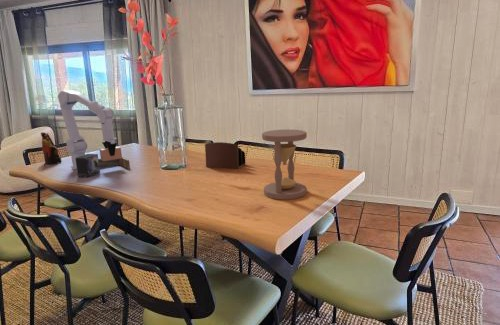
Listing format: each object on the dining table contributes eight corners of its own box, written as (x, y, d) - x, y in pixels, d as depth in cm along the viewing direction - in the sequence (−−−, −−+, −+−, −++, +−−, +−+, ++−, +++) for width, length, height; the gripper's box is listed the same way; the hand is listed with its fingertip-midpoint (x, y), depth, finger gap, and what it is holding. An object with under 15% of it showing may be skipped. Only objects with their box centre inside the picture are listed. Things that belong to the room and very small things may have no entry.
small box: (88, 177, 177) (85, 158, 175) (77, 177, 179) (74, 157, 176) (101, 172, 187) (98, 153, 185) (90, 172, 189) (87, 153, 186)
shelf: (95, 168, 197) (94, 159, 196) (120, 163, 205) (119, 155, 204) (103, 173, 184) (102, 164, 183) (130, 168, 192) (129, 160, 191)
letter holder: (238, 169, 182) (237, 143, 178) (205, 167, 189) (203, 142, 186) (245, 164, 191) (244, 139, 187) (214, 163, 198) (212, 139, 195)
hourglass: (290, 203, 129) (289, 137, 123) (255, 194, 140) (252, 134, 134) (314, 190, 142) (314, 130, 136) (280, 183, 153) (279, 128, 147)
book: (101, 159, 189) (99, 149, 188) (119, 156, 195) (118, 146, 194) (103, 161, 185) (101, 150, 184) (122, 158, 191) (120, 147, 190)
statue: (62, 162, 215) (57, 131, 210) (49, 165, 209) (43, 133, 205) (55, 160, 223) (49, 130, 218) (42, 162, 217) (36, 131, 212)
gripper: (119, 131, 183) (122, 155, 186) (111, 128, 194) (114, 151, 198) (105, 132, 179) (109, 157, 182) (98, 130, 190) (101, 153, 193)
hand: (111, 154), depth 190 cm, fingers closed on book, 5 cm apart
